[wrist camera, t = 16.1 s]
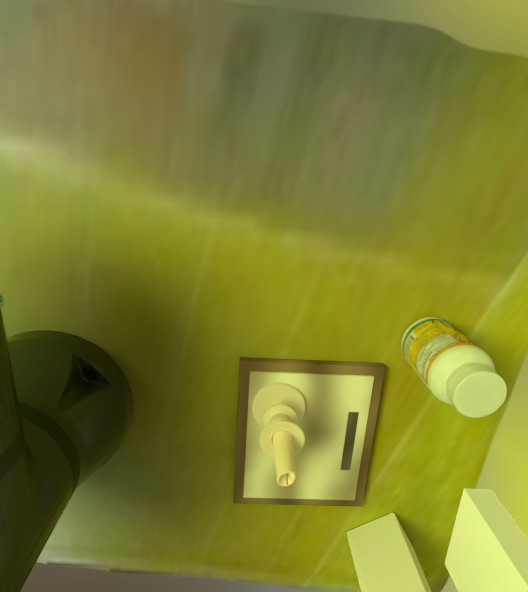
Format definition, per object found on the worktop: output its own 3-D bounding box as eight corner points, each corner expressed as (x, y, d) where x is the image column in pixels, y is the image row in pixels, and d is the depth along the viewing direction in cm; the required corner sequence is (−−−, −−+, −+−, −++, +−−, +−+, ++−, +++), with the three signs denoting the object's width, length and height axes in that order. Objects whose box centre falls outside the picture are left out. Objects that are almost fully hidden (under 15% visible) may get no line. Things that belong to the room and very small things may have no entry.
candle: (309, 385, 39) (328, 460, 29) (299, 430, 41) (314, 516, 31) (256, 378, 39) (257, 451, 29) (248, 424, 40) (246, 509, 30)
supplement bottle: (390, 333, 39) (432, 385, 30) (441, 305, 38) (500, 349, 29) (414, 375, 40) (461, 437, 31) (463, 349, 39) (526, 404, 30)
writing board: (234, 497, 44) (233, 505, 43) (240, 357, 39) (239, 362, 38) (360, 500, 45) (362, 508, 44) (382, 363, 40) (386, 368, 39)
